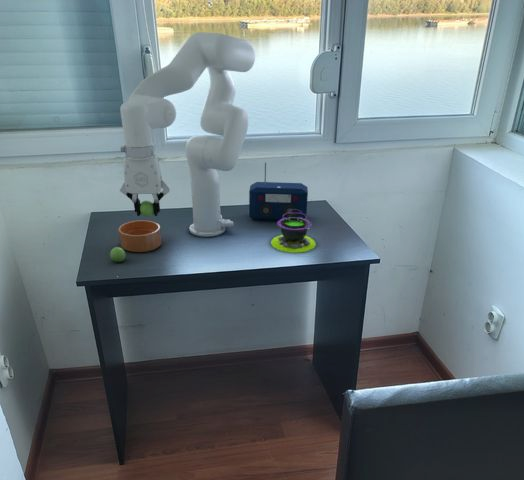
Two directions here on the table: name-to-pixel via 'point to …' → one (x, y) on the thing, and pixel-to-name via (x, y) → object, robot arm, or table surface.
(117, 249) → the pea ball
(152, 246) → the bowl
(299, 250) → the toy cauldron
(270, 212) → the radio
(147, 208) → the pea ball
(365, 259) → the table surface
